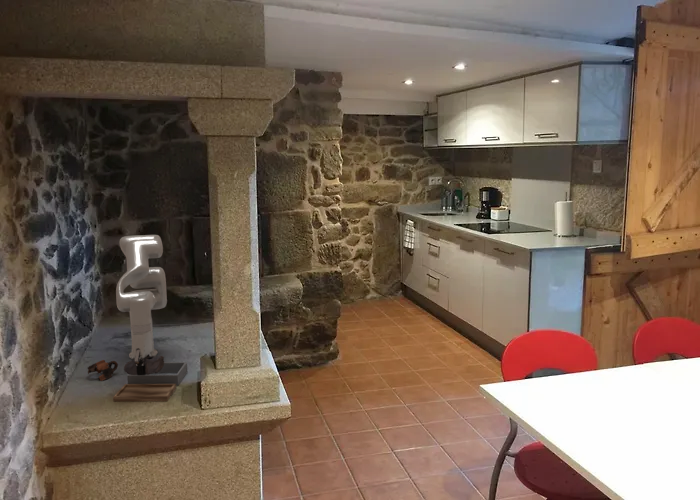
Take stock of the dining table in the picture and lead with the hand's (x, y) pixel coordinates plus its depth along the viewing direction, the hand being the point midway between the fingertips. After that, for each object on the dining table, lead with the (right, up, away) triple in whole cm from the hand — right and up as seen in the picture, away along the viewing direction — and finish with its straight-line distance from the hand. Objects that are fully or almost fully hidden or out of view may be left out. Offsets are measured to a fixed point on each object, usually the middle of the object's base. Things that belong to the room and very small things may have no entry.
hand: (144, 371), depth 218 cm
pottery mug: (-25, -7, +20) cm, 33 cm away
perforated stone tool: (0, -1, 0) cm, 1 cm away
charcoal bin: (0, -7, +17) cm, 19 cm away
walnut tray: (0, -10, +2) cm, 10 cm away
